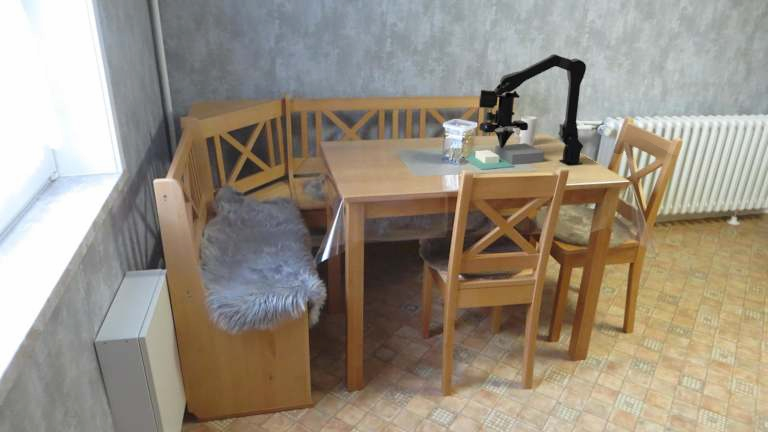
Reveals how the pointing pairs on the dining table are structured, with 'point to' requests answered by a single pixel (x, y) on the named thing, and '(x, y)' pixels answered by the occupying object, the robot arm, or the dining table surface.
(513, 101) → the robot arm
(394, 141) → the dining table surface
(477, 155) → the tile
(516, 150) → the grey square slab
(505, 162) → the mat
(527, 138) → the mug
